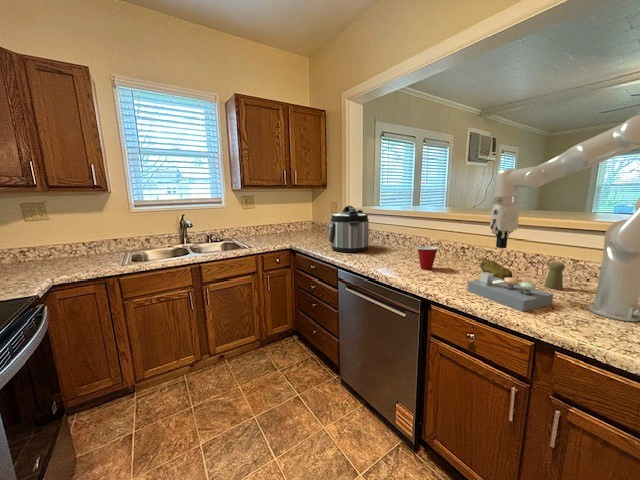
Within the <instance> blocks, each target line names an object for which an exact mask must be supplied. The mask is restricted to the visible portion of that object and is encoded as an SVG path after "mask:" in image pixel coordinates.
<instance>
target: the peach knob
mask: <svg viewBox="0 0 640 480" xmlns="http://www.w3.org/2000/svg"><path fill="white" fill-rule="evenodd" d="M504 283H507V284H508V285H507V289H509V290H513V289H514V285H518V284H519V279H518V278H515V277H512V278H510V277H506V278H504Z"/></svg>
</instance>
